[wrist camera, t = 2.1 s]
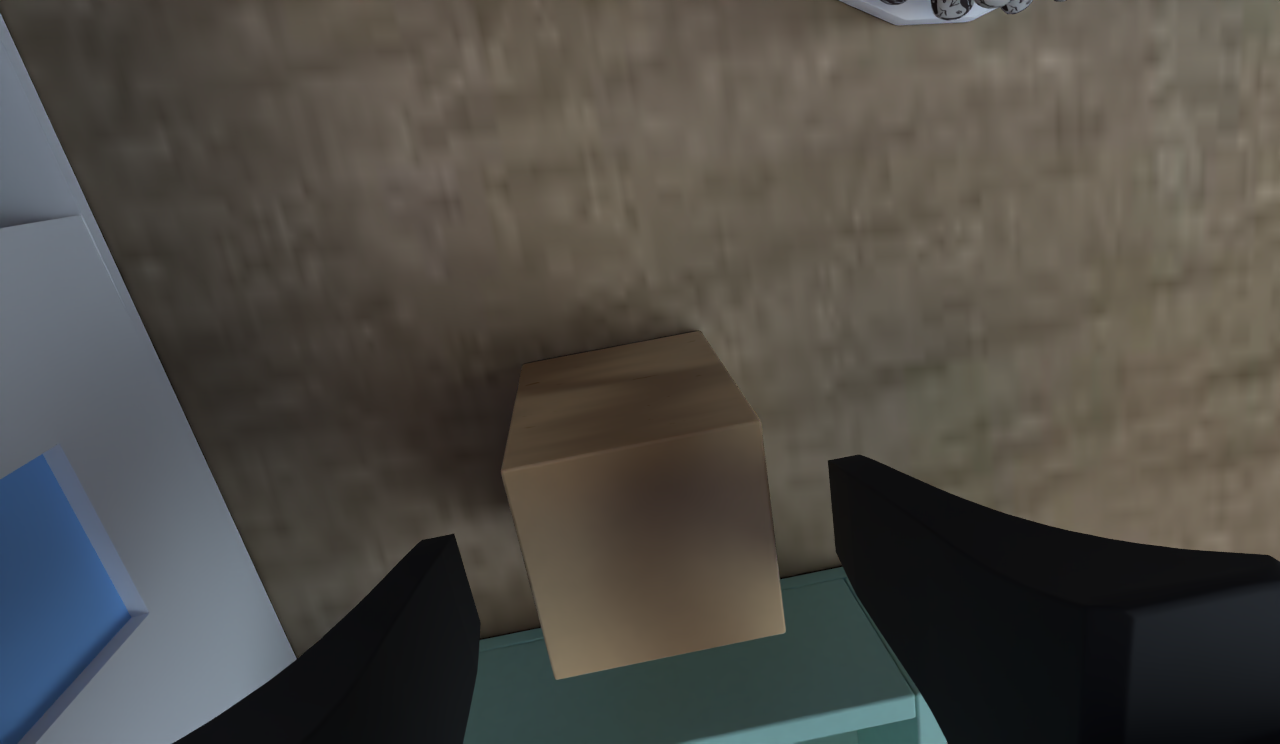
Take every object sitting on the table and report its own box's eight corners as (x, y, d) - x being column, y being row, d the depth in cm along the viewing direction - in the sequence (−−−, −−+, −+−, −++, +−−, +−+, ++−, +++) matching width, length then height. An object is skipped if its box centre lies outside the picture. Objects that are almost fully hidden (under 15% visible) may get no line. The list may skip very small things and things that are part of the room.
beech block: (558, 521, 19) (554, 681, 14) (521, 363, 18) (499, 470, 12) (724, 488, 19) (787, 633, 14) (700, 329, 18) (761, 419, 12)
